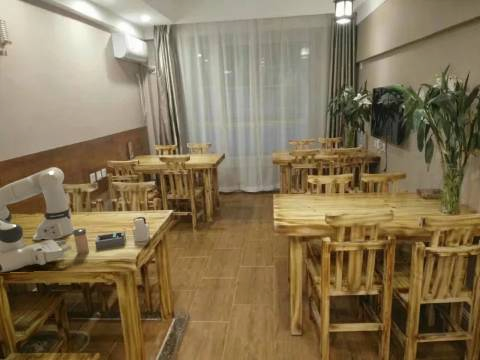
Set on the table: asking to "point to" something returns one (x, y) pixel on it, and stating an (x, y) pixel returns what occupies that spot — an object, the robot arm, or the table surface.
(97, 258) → the table surface
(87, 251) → the terracotta jar
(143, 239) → the medicine bottle
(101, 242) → the grey rectangular box
